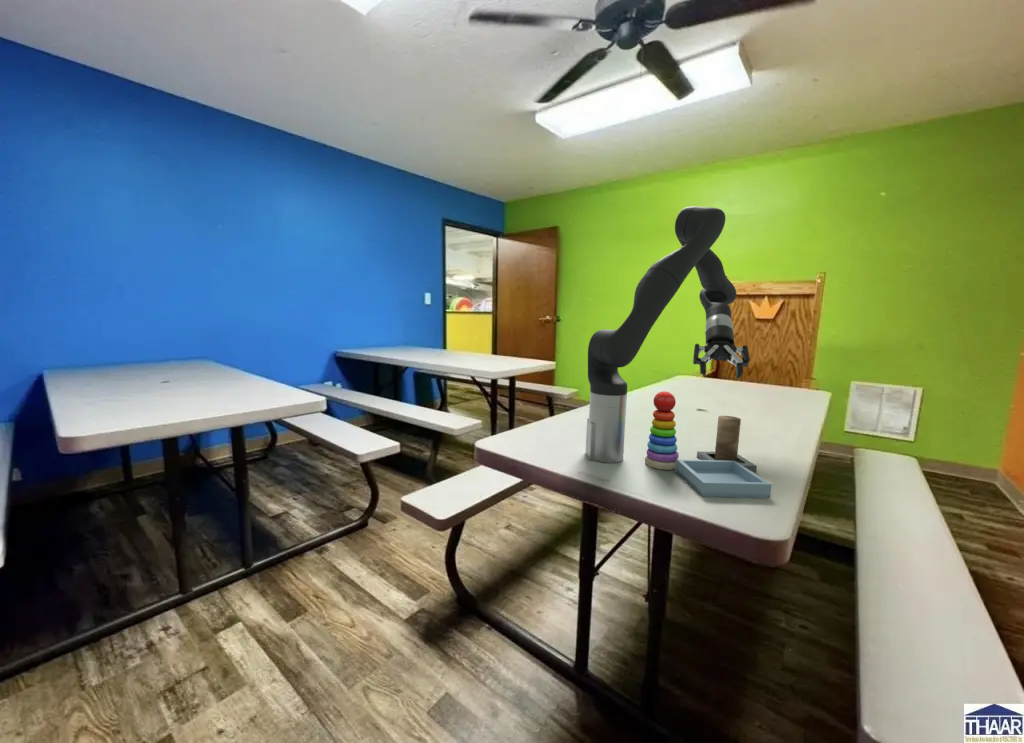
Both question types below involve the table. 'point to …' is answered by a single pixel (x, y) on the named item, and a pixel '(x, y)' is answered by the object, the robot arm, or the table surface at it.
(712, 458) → the socket plate
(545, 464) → the table surface
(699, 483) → the tray
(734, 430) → the walnut peg
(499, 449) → the table surface
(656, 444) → the stacking toy
